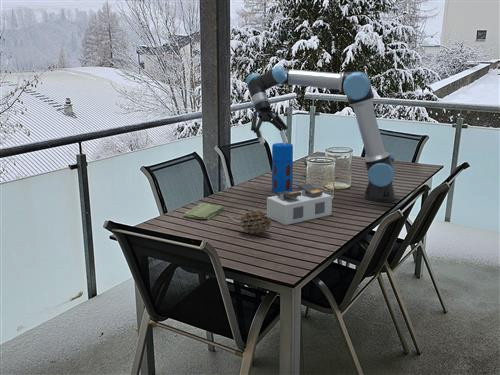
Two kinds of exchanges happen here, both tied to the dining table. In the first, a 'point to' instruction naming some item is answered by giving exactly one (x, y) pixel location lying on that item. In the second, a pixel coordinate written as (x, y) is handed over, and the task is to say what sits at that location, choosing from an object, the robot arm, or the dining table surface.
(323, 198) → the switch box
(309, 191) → the inner rocker
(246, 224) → the pine cone
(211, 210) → the washcloth
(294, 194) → the outer rocker
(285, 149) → the thermos
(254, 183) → the dining table surface
